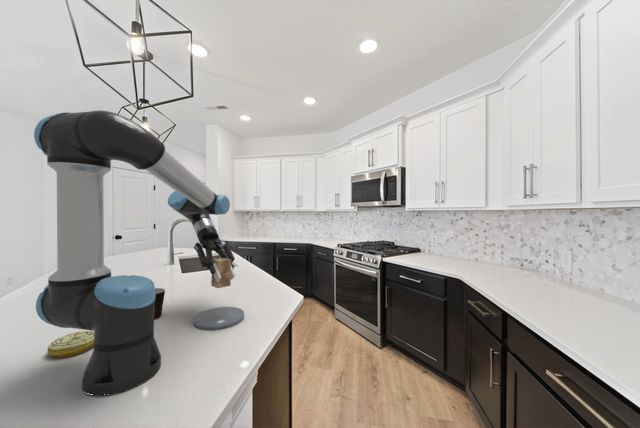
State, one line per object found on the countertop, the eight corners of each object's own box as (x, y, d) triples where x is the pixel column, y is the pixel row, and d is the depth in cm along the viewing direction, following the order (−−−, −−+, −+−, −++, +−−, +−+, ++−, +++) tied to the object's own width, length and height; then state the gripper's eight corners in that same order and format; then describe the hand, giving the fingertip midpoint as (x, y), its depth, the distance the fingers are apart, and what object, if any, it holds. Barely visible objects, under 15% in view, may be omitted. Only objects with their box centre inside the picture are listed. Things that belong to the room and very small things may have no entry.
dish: (207, 335, 81) (208, 330, 81) (184, 320, 92) (184, 316, 92) (253, 318, 95) (253, 314, 95) (228, 307, 106) (228, 303, 106)
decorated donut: (103, 337, 79) (104, 325, 79) (91, 354, 69) (91, 341, 69) (59, 344, 74) (59, 332, 74) (39, 363, 65) (39, 349, 65)
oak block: (218, 288, 90) (218, 261, 90) (211, 285, 94) (211, 259, 94) (230, 285, 94) (231, 259, 94) (223, 283, 97) (224, 257, 98)
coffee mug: (169, 313, 98) (170, 288, 98) (152, 323, 89) (153, 295, 90) (142, 312, 99) (143, 287, 99) (123, 321, 91) (124, 293, 91)
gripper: (223, 237, 111) (243, 280, 100) (180, 239, 97) (198, 289, 86) (229, 225, 108) (251, 269, 97) (186, 226, 94) (205, 276, 83)
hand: (226, 278), depth 92 cm, fingers closed on oak block, 5 cm apart
